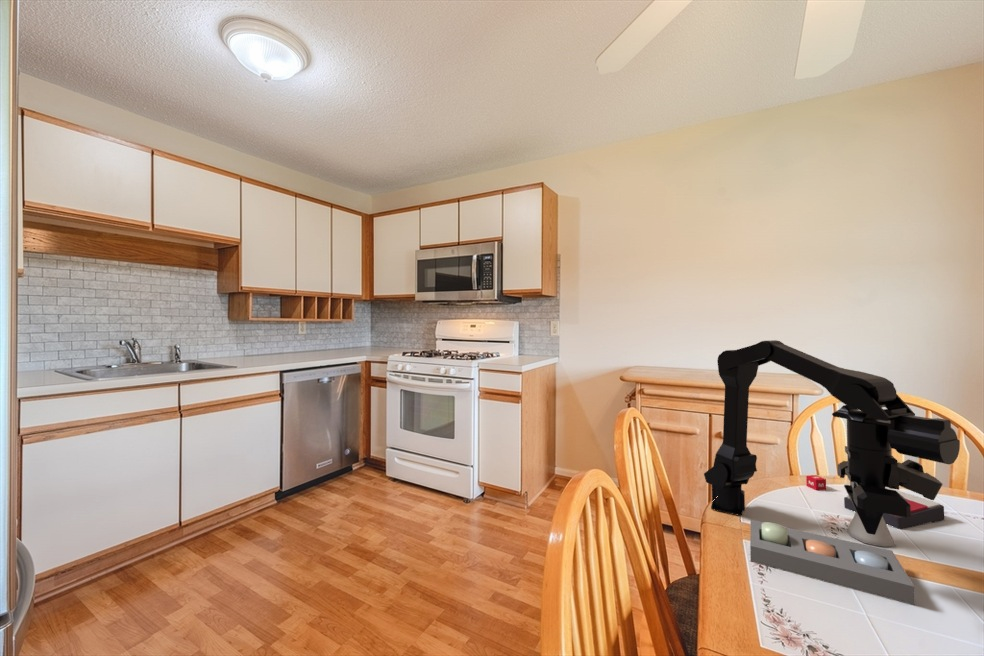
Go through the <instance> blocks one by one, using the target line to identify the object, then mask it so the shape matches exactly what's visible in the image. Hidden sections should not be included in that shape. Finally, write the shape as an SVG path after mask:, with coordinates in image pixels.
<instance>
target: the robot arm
mask: <svg viewBox="0 0 984 656" xmlns="http://www.w3.org/2000/svg"><path fill="white" fill-rule="evenodd" d="M770 362H772V363H774V364H776V365H778V366H780V367H783V368H784V369H787V370H789V371H791V372H794V373H796V374H797V375H800V376H802V377H803V378H806V379H807V380H810V381H812V382H814V383H817V384H819V385H820V386H821V387H822V388H824V389H826V391H827V392H828V393H829V394H830V395H831V396H832V397H834V398H835V399H837V400H838V401H839V402H841V403H842V404H843V405H842V406H841V408H839V409H838V410H836V411H834V412H832V413H831V416H832V417H834V418H839V419H840V418H841V419H845V420H846V445H844V452H845V453H846V455H847V461H846V460H843V461H841V462H840V463H838V464H837V475H838V476H839V478H840V479H844V478H845V477H846V476H847V478H848V479H847V480H848V481H849V484H844V485H843V488H844V490H845V491H846V493H847V496H848V495H849V497H850V499H851V501H852V503H853V506H854V508H855V510H856V512H857V514H858V516H859V518H860V520H861V522H862V524H863V526H864V528H865V530H866V532H867V533H868V534H873V535H875V534H876V531H877V529H878V526H879V523H880V521H881V518H882V516H883V513H886V514H892V515H897V516H903V517H911V506H910V504H909V503H908V502H907V501H906V499H905V498H904V497H903V496H902V495H900V494H899V493H898V492H897V491H896V490H898V491H900V487H901V488H904V489H905V490H908V491H911V492H914V493H916V494H919V495H920V496H922V497H924V499H927V500H930V501H934V500H935V499H936V497H937V496H938V494H939V492H940V489H941V488H942V486H943V483H942V482H941V481H940V480H939V479H938V478H936V477H935V476H933V475H931V474H929V472H924V468H923V467H924V466H923V465H922V464H920V463H919V462H917V461H914V460H912V459H907V460H905V461H903V462H899V461H898V459H896V458H895V457H894V456H893V454H892V449H893V450H895V452H897V453H898V454H900V455H905V456H909V457H914V458H916V459H917V458H918V459H921V460H922V459H924V460H927V461H932V462H936V463H940V464H945V465H952V464H954V463H955V462H956V460H957V459H958V456H959V454H960V449H961V441H960V439H958V435H957V433H956V430H955V429H953V427H952V421H951V420H950V419H945V418H938V417H937V418H936V417H934V418H931V417H923V416H917V415H916V413H915V412H914V411H913V410H912V409H911V408H910V407H909V406H908V404H906V402H905V401H904V400H903V399H902V398H901V397H900V396H899V395H898V394H897V389H896V387H895V385H894V383H893V382H892V381H891V380H889V379H887V378H886V377H883V376H879V375H875V374H871V373H867V372H865V371H859V370H853V369H848V368H844V367H839V366H837V365H834V364H833V363H830V362H827V361H825V360H823V359H820V358H818V357H815V356H813V355H811V354H808V353H806V352H803V351H801V350H799V349H796V348H793V347H792V346H789V345H787V344H785V343H783V342H782V341H780V340H776V339H774V340H761V341H759V342H758V343H757V342H756V343H755V344H753V345H748V346H745V347H741V348H738V349H727V350H726V349H725V350H724V351H722V352H721V353H720V354H718V357H717V369H718V371H717V372H718V375H719V377H720V379H721V381H722V383H723V384H724V400H723V401H724V403H723V404H724V406H723V428H722V429H723V433H722V443H721V445H720V447H719V448H718V449H717V451H716V453H715V456H714V462H713V466H712V467H711V468H709V469H708V470H707V471H705V472H704V473H703V476H704V479H705V482H706V483H707V484H710V485H711V506H710V508H711V510H712V509H715V510H714V511H717V510H718V511H717V512H722V513H726V512H727V514H730V513H733V514H732V515H735V514H738V515H737V516H740V515H742V516H743V512H745V508H746V503H745V502H746V501H745V500H746V498H745V495H746V494H745V490H743V489H742V485H748V483H749V480H750V478H752V477H754V474H755V472H758V469H757V460H758V457H757V455H756V454H753V453H751V452H750V449H749V448H748V445H747V443H748V420H749V419H748V418H749V416H748V415H749V395H750V387H751V385H752V383H753V382H754V380H755V379H756V377H757V374H758V371H759V370H758V369H759V366H762V365H765V364H768V363H770ZM885 487H888V488H891V489H895V490H889V489H886V488H885ZM717 496H718V497H717ZM716 497H717V498H716ZM714 499H715V500H714ZM713 500H714V501H713ZM712 501H713V502H712ZM856 512H855V513H856Z"/></svg>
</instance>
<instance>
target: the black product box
mask: <svg viewBox="0 0 984 656" xmlns="http://www.w3.org/2000/svg"><path fill="white" fill-rule="evenodd" d="M885 488H886V489H889V490H896V491H897V492H898V493H899V494H900V495H902V496H903V497H904V498H905V499H906V501H907V502H908V503H909V504H910V506H911V517H903V516H897V515H892V514H886V513H883V518H884V521H885V523H886V525H887V524H888V525H887V526H890V527H892V526H893V528H895V529H899V530H905V529H909V528H913V527H918V526H919V527H920V526H922V525H926V524H930V523H939V522H943V521H945V520H946V519H945V507H944V505H943V504H940V503H939V502H936V501H934V500H930V499H927V498H922V497H919V496H916V495H914V494H910V493H906V492H904V491H901V490H897V489H891V488H889V487H885ZM843 500H844V501H843V503H844V504H843V505H844V509H846V510H848V511H851V510H852V512H854V511H855V512H854V513H856V510H855V508H854V506H853V503H852V501H851V499H850V497H849V495H848V494H847V495H846V496H844V498H843Z"/></svg>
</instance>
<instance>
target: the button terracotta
mask: <svg viewBox="0 0 984 656" xmlns="http://www.w3.org/2000/svg"><path fill="white" fill-rule="evenodd" d="M806 551H809V552H813V553H818V554H822V555H826V556H830V557H834V558H835V549H834V547H832V546H831V545H829V544H827V543H825V542H822V541H818V540H807V541H806Z"/></svg>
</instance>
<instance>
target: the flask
mask: <svg viewBox="0 0 984 656" xmlns="http://www.w3.org/2000/svg"><path fill="white" fill-rule="evenodd" d="M846 531H847V533H848V535H849V536H850V537H852V538H854V539H856V540H858V541H860V542H862V543H863V544H866V545H867V544H868V545H871V546H872V545H874V546H876V547H877V546H879V547H883V548H884V547H886V546H887V547H896V546H897V545H896V542H895V540H894V538H893V535H892V534H891V531H890V530H889V528H888V525H887V524H886V523H885V521H884V518H883V516H882V518H881V521H880V523H879V526H878V529H877V531H876V534H875V535H873V534H868V533H867V532H866V530H865V528H864V526H863V524H862V522H861V520H860V518H859V516H858V514H857V512H854V516H853V518H852V519H851V521H850V522H849V524H848V526H847V528H846Z"/></svg>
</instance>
